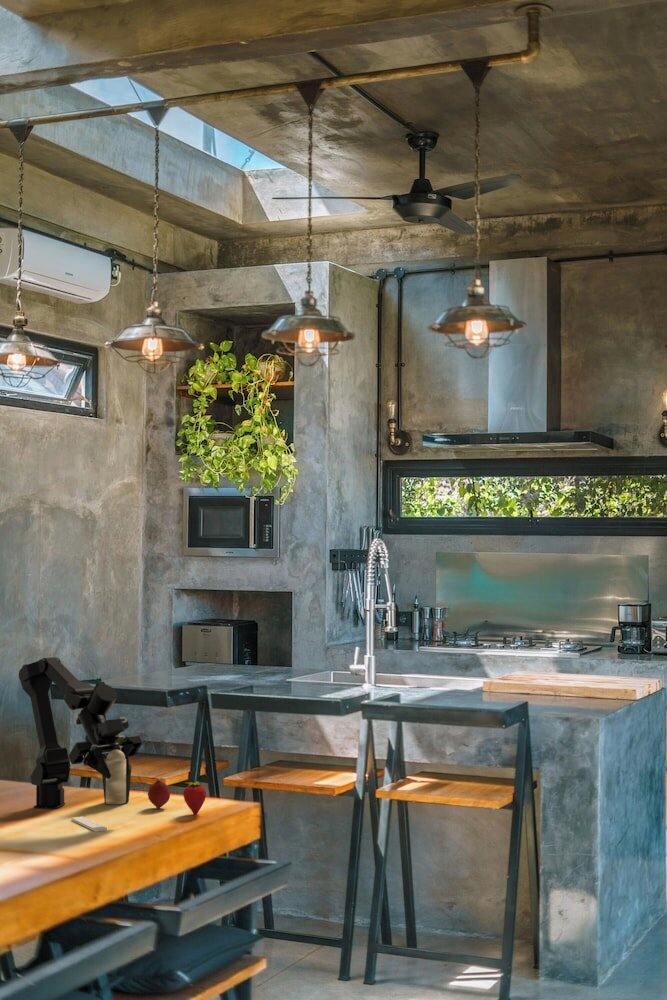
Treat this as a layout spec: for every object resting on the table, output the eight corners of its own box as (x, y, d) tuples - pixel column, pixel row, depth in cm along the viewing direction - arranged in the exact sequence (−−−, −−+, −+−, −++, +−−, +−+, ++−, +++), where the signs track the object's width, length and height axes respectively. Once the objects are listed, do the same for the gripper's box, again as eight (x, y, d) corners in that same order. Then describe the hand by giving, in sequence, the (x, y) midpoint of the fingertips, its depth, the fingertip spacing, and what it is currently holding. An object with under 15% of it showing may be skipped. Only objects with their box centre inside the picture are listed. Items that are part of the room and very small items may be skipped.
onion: (172, 806, 326) (172, 776, 327) (167, 810, 321) (167, 779, 321) (151, 805, 327) (151, 775, 327) (145, 810, 321) (145, 779, 322)
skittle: (102, 803, 301) (102, 750, 302) (110, 799, 306) (111, 747, 306) (120, 804, 300) (120, 751, 300) (129, 800, 305) (129, 748, 305)
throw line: (71, 820, 309) (71, 817, 309) (82, 818, 311) (82, 816, 311) (95, 831, 296) (95, 829, 296) (107, 830, 298) (107, 827, 298)
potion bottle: (105, 799, 336) (105, 734, 337) (134, 799, 335) (134, 734, 336) (98, 805, 328) (98, 738, 328) (128, 805, 327) (128, 738, 328)
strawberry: (180, 817, 312) (180, 778, 312) (186, 811, 319) (186, 772, 320) (203, 817, 312) (203, 778, 312) (208, 811, 319) (208, 773, 320)
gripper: (74, 709, 301) (98, 760, 292) (139, 703, 313) (163, 751, 304) (58, 738, 306) (81, 788, 297) (122, 731, 318) (145, 779, 310)
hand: (118, 776), depth 302 cm, fingers closed on skittle, 5 cm apart
